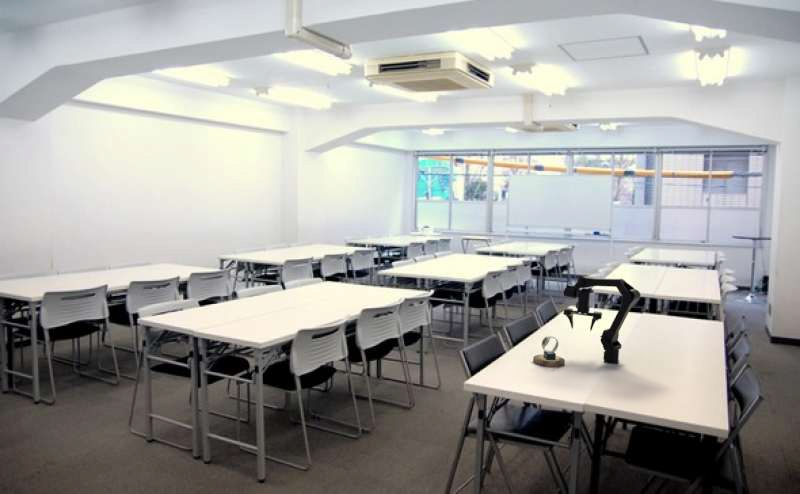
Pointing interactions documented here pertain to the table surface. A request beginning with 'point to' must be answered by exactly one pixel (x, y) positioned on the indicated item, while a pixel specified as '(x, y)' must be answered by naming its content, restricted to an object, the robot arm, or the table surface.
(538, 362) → the round dish
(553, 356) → the watch
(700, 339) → the table surface
